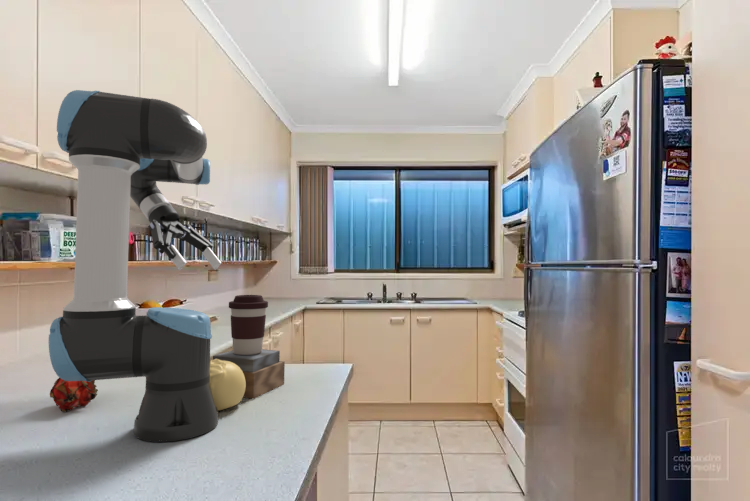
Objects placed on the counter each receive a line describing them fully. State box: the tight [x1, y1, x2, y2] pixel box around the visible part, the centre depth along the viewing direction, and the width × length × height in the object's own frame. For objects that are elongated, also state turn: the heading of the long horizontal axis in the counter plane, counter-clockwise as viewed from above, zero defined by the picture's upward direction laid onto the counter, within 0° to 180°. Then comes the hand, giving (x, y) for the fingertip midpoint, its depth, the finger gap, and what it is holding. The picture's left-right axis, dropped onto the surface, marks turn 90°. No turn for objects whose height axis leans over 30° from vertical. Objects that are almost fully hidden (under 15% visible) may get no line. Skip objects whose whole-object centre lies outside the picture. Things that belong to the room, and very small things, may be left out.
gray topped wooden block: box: [212, 348, 286, 399], centre depth 115 cm, size 14×14×9 cm
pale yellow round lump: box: [210, 359, 246, 412], centre depth 100 cm, size 12×12×11 cm
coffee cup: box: [228, 294, 269, 355], centre depth 115 cm, size 10×10×15 cm
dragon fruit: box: [49, 377, 99, 413], centre depth 98 cm, size 8×8×12 cm
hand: (201, 266), depth 121 cm, fingers open, 13 cm apart
